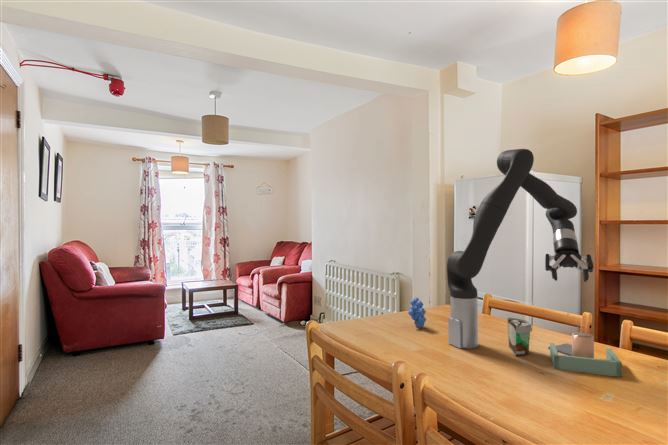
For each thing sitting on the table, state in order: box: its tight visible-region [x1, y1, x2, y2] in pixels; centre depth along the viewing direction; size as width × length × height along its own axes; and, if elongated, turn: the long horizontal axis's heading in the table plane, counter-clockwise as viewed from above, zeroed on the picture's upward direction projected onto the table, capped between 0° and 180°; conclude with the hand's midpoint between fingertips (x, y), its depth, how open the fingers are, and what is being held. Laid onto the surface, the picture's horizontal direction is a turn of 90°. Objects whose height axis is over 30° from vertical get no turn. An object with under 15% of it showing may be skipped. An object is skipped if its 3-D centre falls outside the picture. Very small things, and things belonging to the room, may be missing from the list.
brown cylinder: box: [571, 332, 595, 358], centre depth 116 cm, size 6×6×9 cm
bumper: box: [549, 342, 623, 378], centre depth 116 cm, size 13×16×4 cm
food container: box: [506, 317, 533, 357], centre depth 128 cm, size 12×6×10 cm, turn 168°
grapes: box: [408, 296, 427, 328], centre depth 161 cm, size 12×7×12 cm, turn 13°
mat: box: [547, 342, 572, 356], centre depth 128 cm, size 9×9×1 cm
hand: (570, 279), depth 130 cm, fingers open, 8 cm apart
